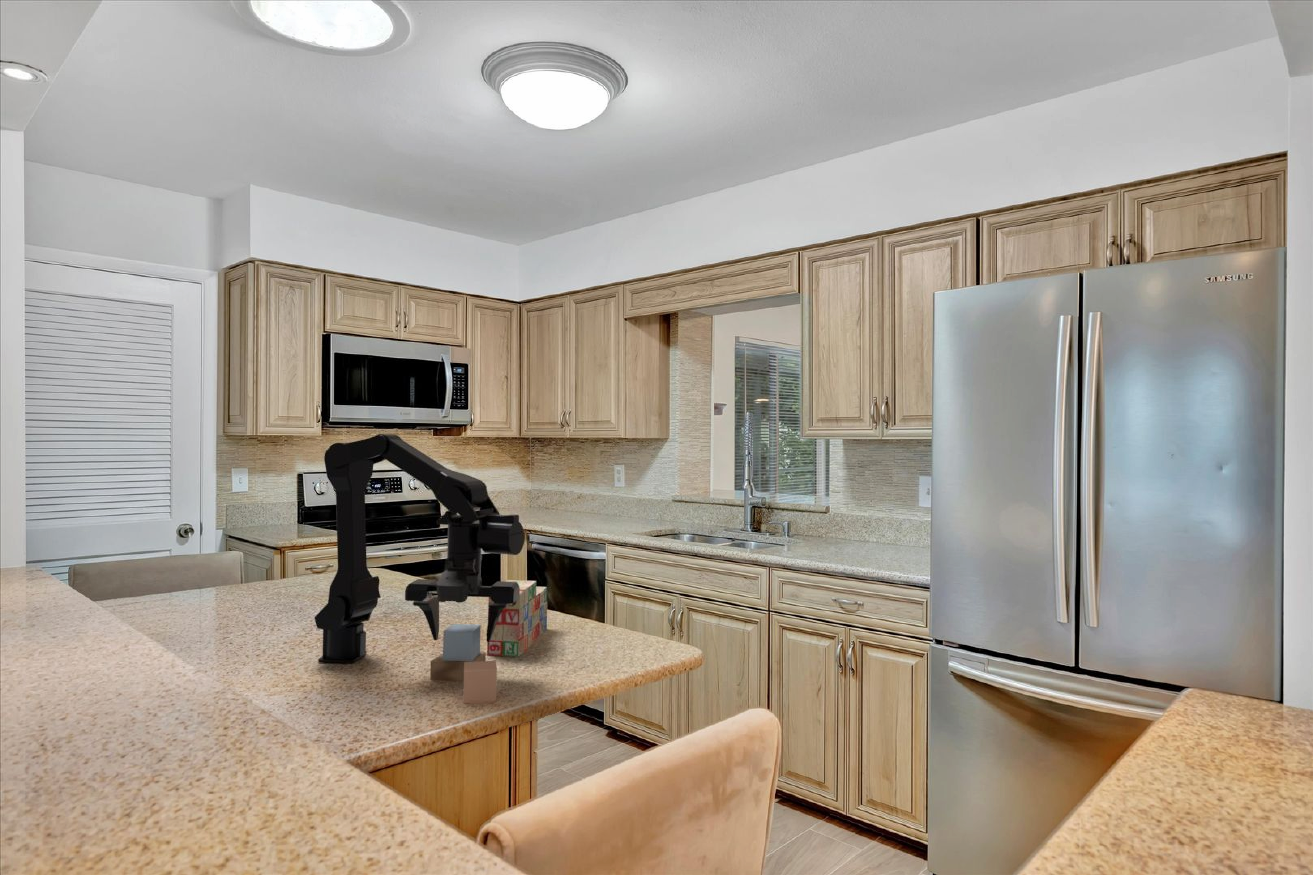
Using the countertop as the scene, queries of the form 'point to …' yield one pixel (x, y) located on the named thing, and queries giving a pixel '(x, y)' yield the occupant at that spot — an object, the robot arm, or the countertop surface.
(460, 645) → the slate cube
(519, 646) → the stack of blocks
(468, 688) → the terracotta cube
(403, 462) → the robot arm
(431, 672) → the walnut slab
